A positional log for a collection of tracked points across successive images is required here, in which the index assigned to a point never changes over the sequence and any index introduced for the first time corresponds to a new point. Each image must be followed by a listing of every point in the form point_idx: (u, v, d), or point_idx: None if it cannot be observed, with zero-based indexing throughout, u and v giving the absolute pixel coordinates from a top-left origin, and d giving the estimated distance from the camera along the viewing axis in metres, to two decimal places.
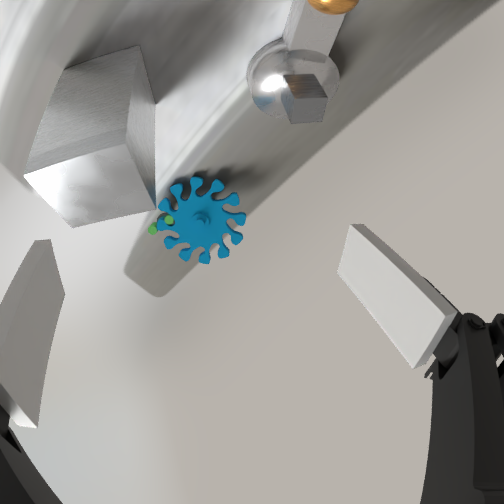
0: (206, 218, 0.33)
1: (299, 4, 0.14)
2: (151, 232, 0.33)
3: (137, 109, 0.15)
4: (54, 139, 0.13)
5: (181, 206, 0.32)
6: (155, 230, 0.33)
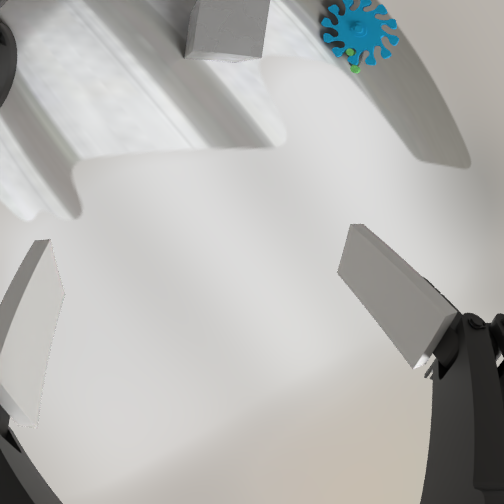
0: (356, 23, 0.28)
1: None
2: (356, 70, 0.31)
3: None
4: (192, 36, 0.22)
5: (342, 38, 0.30)
6: (355, 66, 0.31)
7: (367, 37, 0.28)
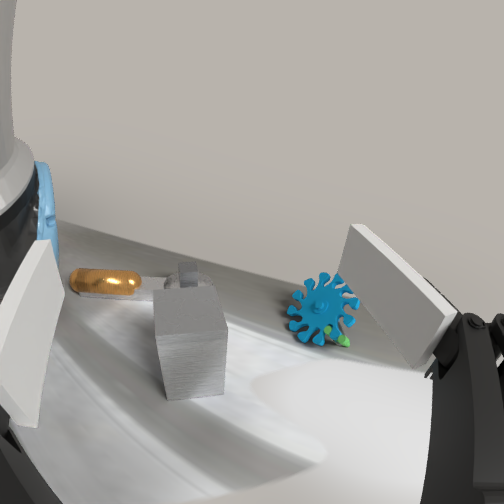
0: (315, 303, 0.39)
1: (140, 293, 0.40)
2: (344, 338, 0.34)
3: None
4: None
5: (313, 325, 0.37)
6: (340, 336, 0.34)
7: (331, 305, 0.37)
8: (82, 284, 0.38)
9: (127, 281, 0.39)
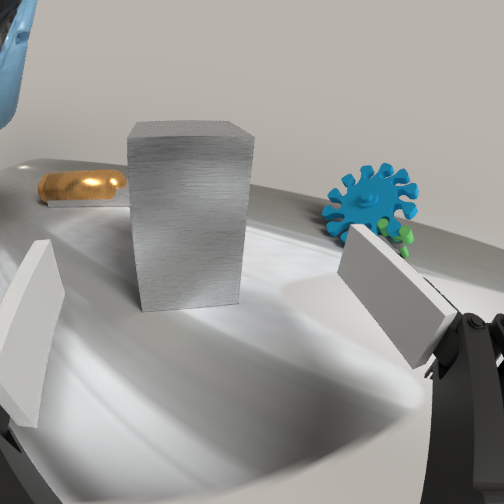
0: (360, 197, 0.28)
1: (122, 194, 0.30)
2: (408, 229, 0.23)
3: None
4: None
5: (361, 221, 0.26)
6: (402, 227, 0.23)
7: (382, 196, 0.26)
8: (51, 187, 0.28)
9: (107, 178, 0.29)
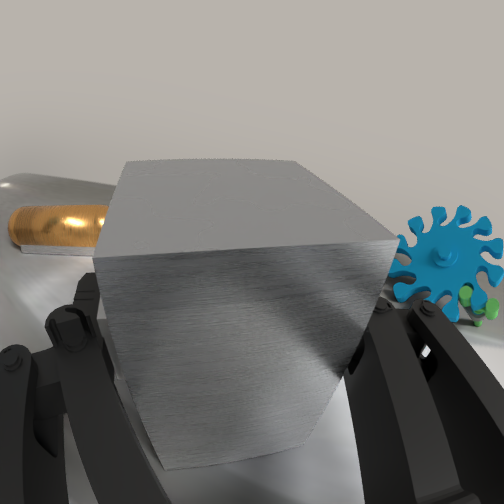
0: (435, 251, 0.20)
1: None
2: (496, 304, 0.15)
3: None
4: None
5: (439, 287, 0.19)
6: (490, 300, 0.15)
7: (462, 253, 0.19)
8: (23, 229, 0.20)
9: (95, 219, 0.21)
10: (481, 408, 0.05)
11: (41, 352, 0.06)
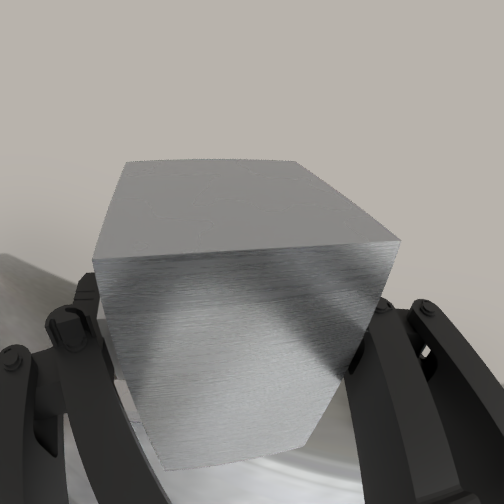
0: None
1: None
2: None
3: None
4: None
5: None
6: None
7: None
8: None
9: None
10: (481, 408, 0.05)
11: (41, 352, 0.06)
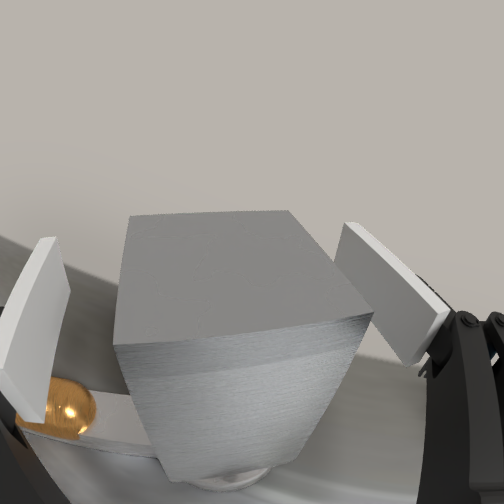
0: None
1: (94, 441, 0.12)
2: None
3: None
4: None
5: None
6: None
7: None
8: None
9: (56, 417, 0.11)
10: None
11: None
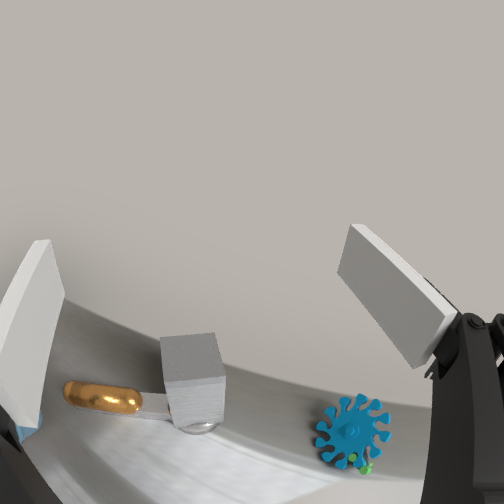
0: (346, 427, 0.31)
1: (142, 413, 0.33)
2: (366, 470, 0.26)
3: None
4: None
5: (339, 449, 0.30)
6: (363, 467, 0.26)
7: (361, 433, 0.30)
8: (78, 402, 0.31)
9: (127, 404, 0.32)
10: None
11: None
